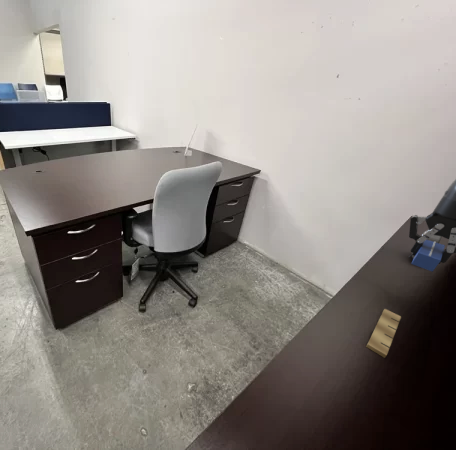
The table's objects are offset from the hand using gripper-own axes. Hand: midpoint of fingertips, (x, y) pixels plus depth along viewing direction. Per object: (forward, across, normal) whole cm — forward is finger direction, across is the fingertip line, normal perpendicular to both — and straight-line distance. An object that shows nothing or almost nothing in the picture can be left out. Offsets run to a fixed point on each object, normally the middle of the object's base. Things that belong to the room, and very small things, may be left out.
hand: (425, 258), depth 65 cm
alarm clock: (+15, 0, -34) cm, 38 cm away
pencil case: (+1, 0, 0) cm, 1 cm away
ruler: (+15, 0, +18) cm, 24 cm away
